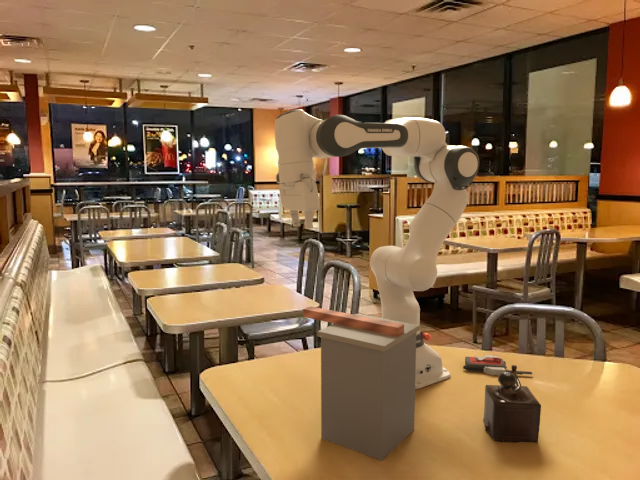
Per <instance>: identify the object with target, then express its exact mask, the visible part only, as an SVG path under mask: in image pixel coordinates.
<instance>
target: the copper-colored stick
mask: <svg viewBox="0 0 640 480" xmlns="http://www.w3.org/2000/svg"><path fill="white" fill-rule="evenodd" d="M302 317H303V318H307V319H311V320H315V321H320V322H326V323H331V324H340V325H345V326H349V327H354V328H359V329H364V330H369V331H373V332H378V333H383V334H388V335H393V336H397V337H398V336H400V335H401V334H403V333H404V324H400V323H395V322H389V321H384V320H379V319H374V318H369V317H363V316H358V315H355V314H353V313H347V312H341V311H337V310H331V309H327V308H320V307H315V306H307V307H305V308H302Z"/></svg>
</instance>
